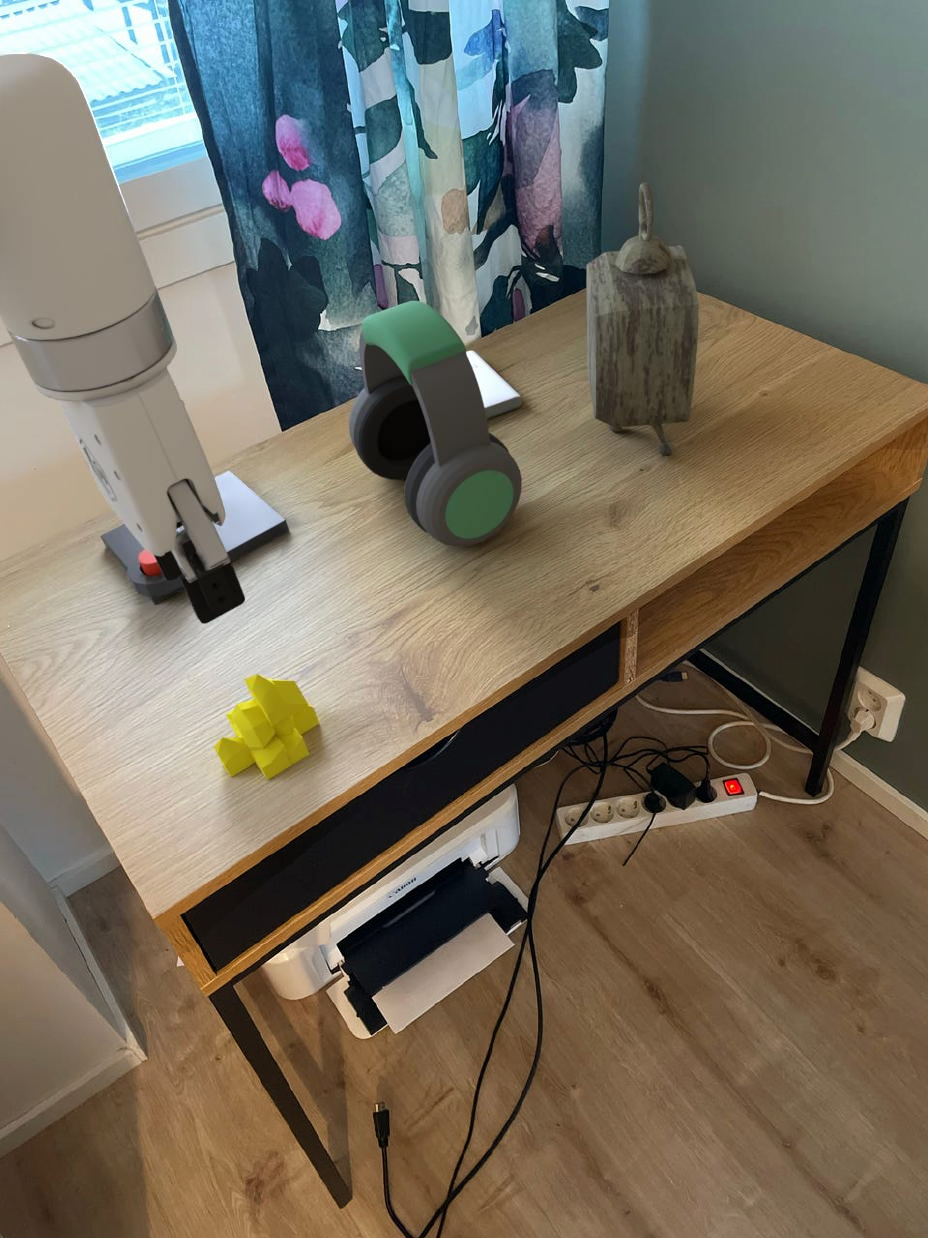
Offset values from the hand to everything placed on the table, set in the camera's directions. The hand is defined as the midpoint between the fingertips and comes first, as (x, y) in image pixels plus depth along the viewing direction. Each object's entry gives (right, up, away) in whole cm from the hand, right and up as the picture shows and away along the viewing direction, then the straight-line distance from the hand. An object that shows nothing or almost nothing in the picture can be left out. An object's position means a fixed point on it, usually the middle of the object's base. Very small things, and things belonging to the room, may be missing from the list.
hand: (203, 587), depth 59 cm
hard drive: (+18, +24, +46) cm, 54 cm away
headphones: (+15, +10, +32) cm, 37 cm away
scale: (-10, +6, +32) cm, 34 cm away
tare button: (-12, +3, +25) cm, 28 cm away
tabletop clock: (+35, +18, +37) cm, 55 cm away
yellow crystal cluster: (+2, -12, +13) cm, 18 cm away
